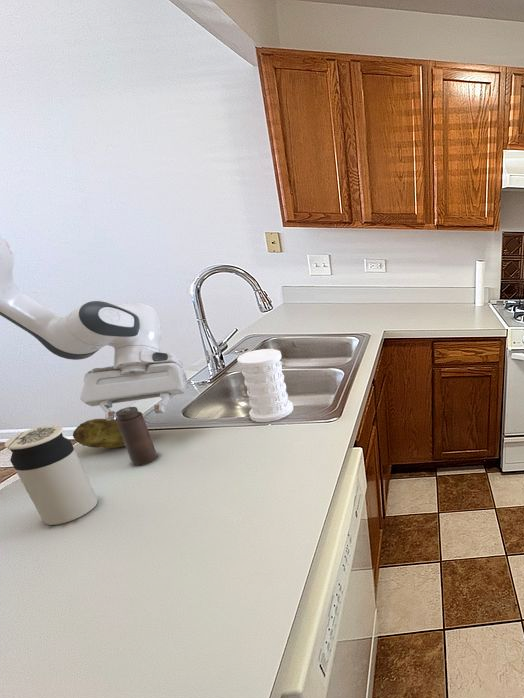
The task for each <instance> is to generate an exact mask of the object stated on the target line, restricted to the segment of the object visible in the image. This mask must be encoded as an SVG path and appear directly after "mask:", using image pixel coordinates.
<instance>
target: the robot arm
mask: <svg viewBox="0 0 524 698" xmlns="http://www.w3.org/2000/svg"><path fill="white" fill-rule="evenodd" d="M14 264H15V256H14V252H13V249H12V247H11V245H10V243H9V242H8V241H6V240H5V238H3V237H2V236H1V235H0V316H1V317H2V318H4V319H6V320H7V321H9V322H10V323H12V324H13V325H15V326H17V327H18V328H20V329H22V330H23V331H25V332H27V333H28V334H30V335H31V336H32V337H34V338H35V339H36V340H37V341H38V342H40V344H41V345H42V346H43V347H45V348H46V349H47V350H48V351H49V352H51V353H52V354H54V355H55V356H57V357H60V358H61V359H62V358H63V359H66V360H73V361H75V360H76V361H78V360H79V361H80V360H85V359H88V358H91V357H92V356H93V355H95V354H96V353H97V352H98V351H100V350H101V349H102V348H104V347H106V346H108V347H112V348H113V350H114V355H113V366H105V367H95V368H92V369H91V370H89V371H88V372H86V373H85V374H84V376H83V385H82V389H81V393H80V400H81V402H82V403H84V404H85V405H88V406H90V407H97V406H99V407H100V408H101V409H102V411H103V412H104V413H105V417H104V419H106V420H108V421H112V420H115V419H116V418H117V416H116V412H117V411H114V410H111V409H112V408H113V404H120V403H125V402H127V403H128V402H133V401H140V400H146V399H155V398H161V399H160V401H159V402H158V404H154V406H153V407H154V409H153V411H154V413H155V414H163V413H165V411H166V406H167V405H168V403H169V402H170V401H171V396H175V395H183V394H185V393H186V392H187V390H188V387H189V385H188V378H187V374H186V372H185V370H183V368H184V365H183V362H182V360H181V359H180V358H178V356H177V355H175V354H174V353H171V352H165V351H161V349H160V346H159V345H160V342H161V340H162V329H161V319H160V316H159V314H158V312H157V311H156V309H155V308H154V307H152V306H150V305H148V304H146V303H143V302H137V301H128V302H125V303H118V304H117V303H110V302H107V301H102V300H94V301H88V302H86V303H83V304H82V305H80V306H78V307H77V308H75V309H74V310H72V311H71V312H69V313H68V314H66V315H65V316H62V315H57V314H55V313H53V312H52V311H51V310H49V309H47V308H46V307H45V306H43V305H41V304H40V303H39V302H37V301H35V300H34V299H33V298H32V297H30V296H28V295H27V294H25V293H24V292H23V291H21V290H20V288H19V287H18V286H17V284H16V283H15V281H14V277H13V269H14V266H15V265H14Z"/></svg>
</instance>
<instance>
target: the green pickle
mask: <svg viewBox="0 0 524 698" xmlns="http://www.w3.org/2000/svg"><path fill="white" fill-rule="evenodd" d="M72 437H73V439H74V441H76V443H78V444H80V445H82V446H83V447H88V448H95V449H99V448H102V449H103V448H104V449H118V448H122V447H126V446H125V444H124V441H123V439H122V436H121V434H120V431H119V429H118V426H117V424H116V421H115V420H112V421H108V420H106V419H105V418H93V419H89V420H86V421H84V422H81V423H80V424H79V425H78V426H77V427H76V428H75V429H74V430H73V432H72Z"/></svg>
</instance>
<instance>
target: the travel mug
mask: <svg viewBox="0 0 524 698" xmlns="http://www.w3.org/2000/svg"><path fill="white" fill-rule="evenodd" d="M63 430H64V428H63V427H62V426H60V425H54V424H53V425H52V424H51V425H44V426H39V427H34V428H31V429H28V430H25V431H22V432H19V433H18V434H17V433H16V435H13V436H12V437H10V438H8V439H7V440H6V441H5V442H4V447H5V448H6V449H8V450H9V451H10V452H11V456H10V460H9V461H10V463H11V465H12V467H13V468H14V471H15V472H16V474H17V476H18V478H19V479H20V481H21V483H22V485H23V487H24V488H25V490H26V492H27V494H28V496H29V498H30V500H31V501H32V503H33V505H34V507H35V508H36V509H35V510H37V512H38V515H39V516H40V518H41V520H42V521H43V523H44V524H45V525H48V526H52V525H56V526H57V525H62V524H65V523H68V522H71V521H74V520H77V519H78V518H81V517H83V516H84V515H86V514H87V513H89V512H90V511H92V510H93V509H94V508H95V507H96V505H97V504H98V501H99V500H98V496H97V495H96V493H95V490H94V489H93V486H92V485H91V482H90V480H89V477H88V475H87V473H86V472H85V469H84V467H83V465H82V463H81V461H80V459H79V456H78V454H77V451H76V450H75V447H74V446H73V445H74V444H73V443H72V440H70V439H68V438H67V437H65V436H64V435H63Z"/></svg>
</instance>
